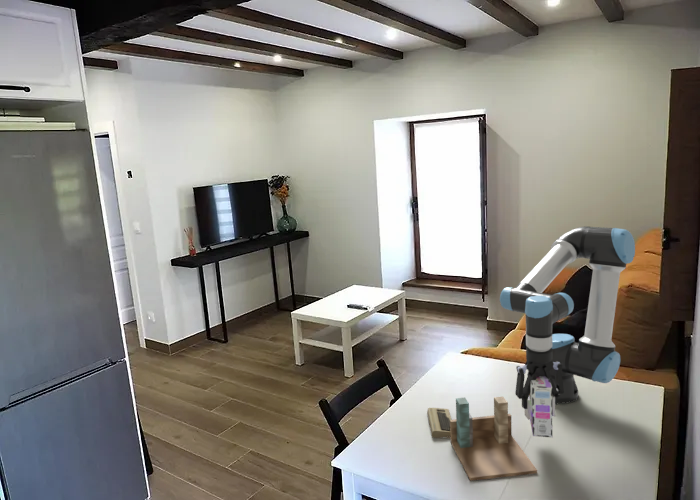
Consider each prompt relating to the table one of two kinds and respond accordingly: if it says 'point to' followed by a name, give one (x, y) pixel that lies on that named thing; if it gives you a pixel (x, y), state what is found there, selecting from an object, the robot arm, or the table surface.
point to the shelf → (487, 443)
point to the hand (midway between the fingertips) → (539, 415)
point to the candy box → (541, 407)
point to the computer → (439, 422)
